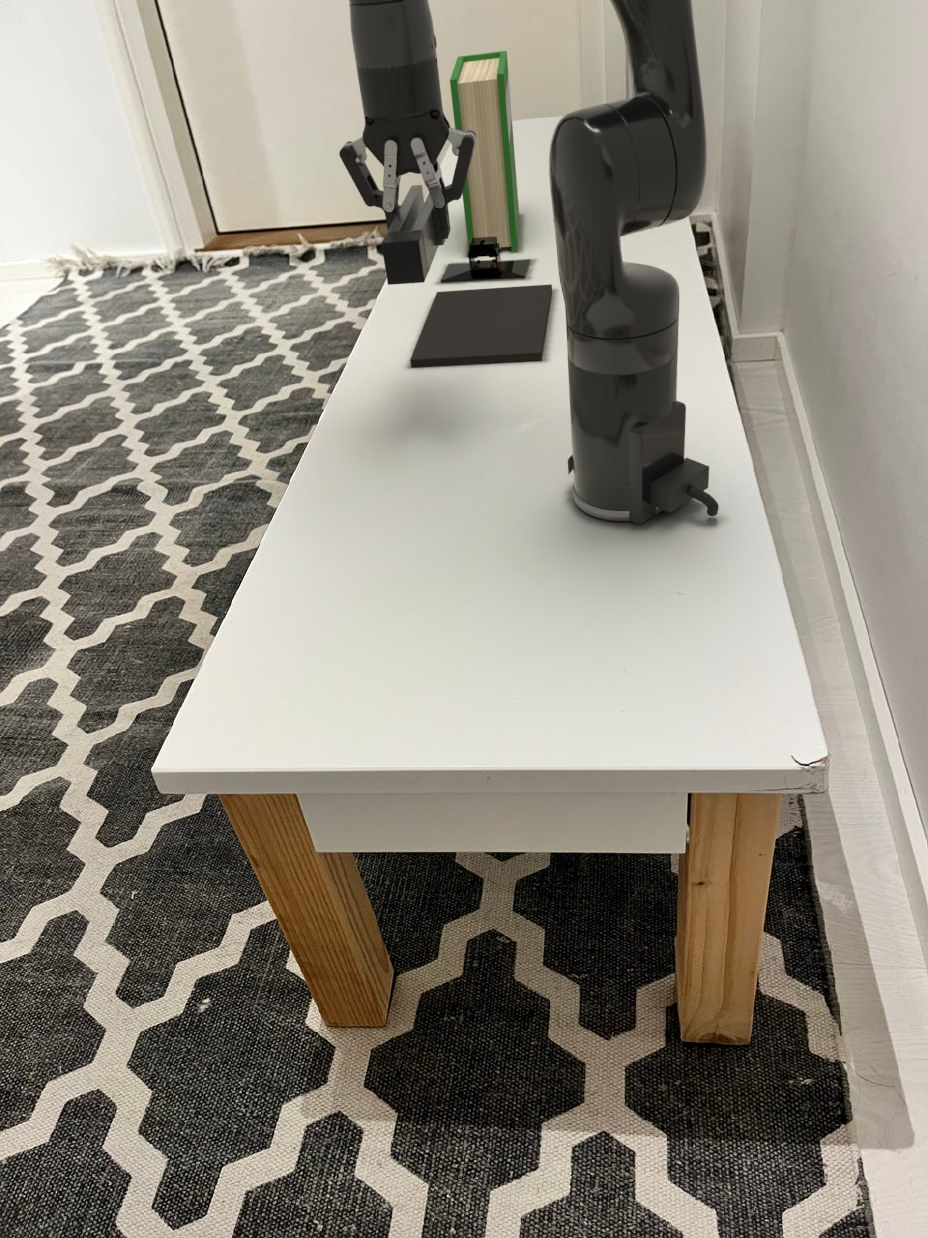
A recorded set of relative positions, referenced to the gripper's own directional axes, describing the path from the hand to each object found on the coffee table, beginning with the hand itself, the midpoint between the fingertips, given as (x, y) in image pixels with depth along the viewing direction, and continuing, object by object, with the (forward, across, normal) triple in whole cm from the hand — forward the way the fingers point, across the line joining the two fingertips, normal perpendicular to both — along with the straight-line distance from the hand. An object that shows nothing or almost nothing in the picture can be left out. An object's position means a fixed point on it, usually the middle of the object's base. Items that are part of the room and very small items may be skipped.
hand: (421, 243), depth 99 cm
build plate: (+18, +1, +40) cm, 44 cm away
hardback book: (+18, +1, +56) cm, 59 cm away
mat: (+18, +3, +20) cm, 26 cm away
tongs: (0, 0, 0) cm, 0 cm away
